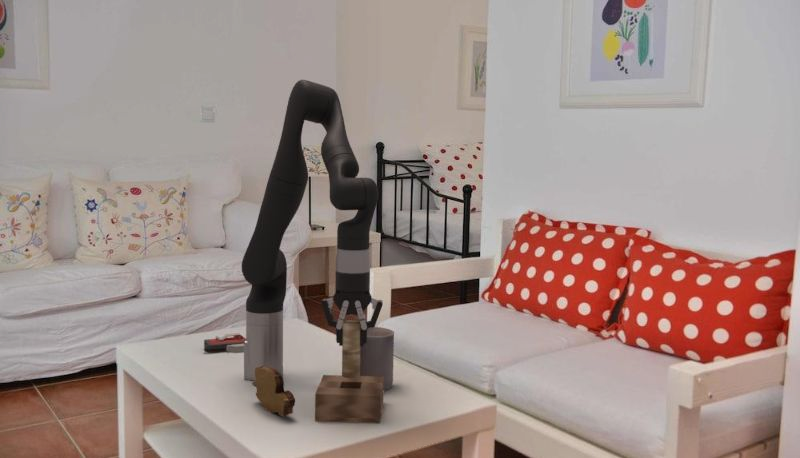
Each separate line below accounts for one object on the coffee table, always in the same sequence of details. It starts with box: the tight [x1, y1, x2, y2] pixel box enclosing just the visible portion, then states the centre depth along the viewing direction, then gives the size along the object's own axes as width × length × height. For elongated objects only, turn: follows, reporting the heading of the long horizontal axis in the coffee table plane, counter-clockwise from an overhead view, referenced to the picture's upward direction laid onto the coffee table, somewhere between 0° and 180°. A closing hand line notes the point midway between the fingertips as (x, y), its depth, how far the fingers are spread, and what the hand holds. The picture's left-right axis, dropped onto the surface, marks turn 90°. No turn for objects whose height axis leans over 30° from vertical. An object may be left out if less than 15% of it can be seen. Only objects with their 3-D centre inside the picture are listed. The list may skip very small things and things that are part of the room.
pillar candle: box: [360, 326, 395, 392], centre depth 198 cm, size 10×10×15 cm
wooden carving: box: [251, 366, 296, 417], centre depth 179 cm, size 16×5×10 cm, turn 40°
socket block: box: [314, 374, 385, 424], centre depth 180 cm, size 14×14×6 cm
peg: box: [341, 319, 361, 378], centre depth 179 cm, size 4×4×12 cm
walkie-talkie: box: [203, 332, 246, 354], centre depth 231 cm, size 9×4×20 cm
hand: (351, 344), depth 179 cm, fingers closed on peg, 4 cm apart
